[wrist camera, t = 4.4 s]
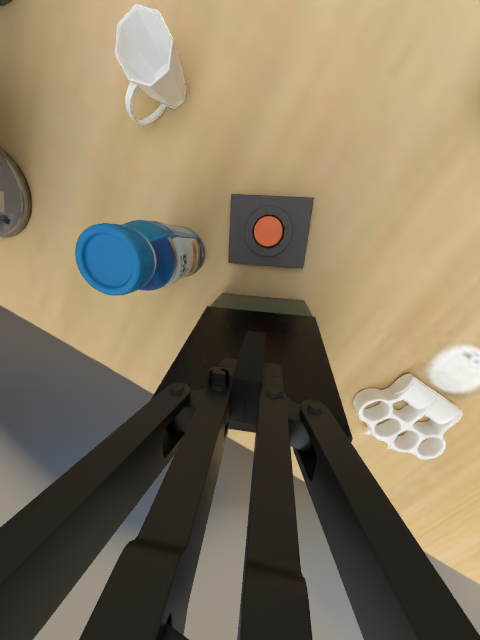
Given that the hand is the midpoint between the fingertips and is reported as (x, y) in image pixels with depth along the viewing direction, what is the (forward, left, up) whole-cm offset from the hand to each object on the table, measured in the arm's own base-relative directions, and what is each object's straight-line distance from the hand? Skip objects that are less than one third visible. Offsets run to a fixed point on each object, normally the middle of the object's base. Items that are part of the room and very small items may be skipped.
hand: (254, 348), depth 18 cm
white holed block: (+28, -22, -24) cm, 43 cm away
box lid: (0, -3, -5) cm, 6 cm away
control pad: (0, +9, -24) cm, 26 cm away
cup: (-17, +26, -24) cm, 39 cm away
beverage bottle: (-15, +5, -24) cm, 29 cm away
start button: (0, +9, -20) cm, 22 cm away
